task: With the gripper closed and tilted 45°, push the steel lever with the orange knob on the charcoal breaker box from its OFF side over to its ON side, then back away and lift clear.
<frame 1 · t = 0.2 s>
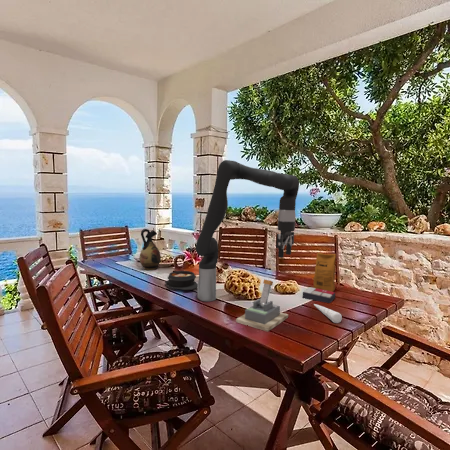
hand: (284, 255, 146), 29 cm above the table, tool pointing down, fingers open, 8 cm apart
casserole: (181, 287, 196), on the table
mounting board: (262, 319, 147), on the table
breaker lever: (265, 293, 147), point 12 cm above the table, hinge at -25.0°
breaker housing: (262, 309, 146), on the mounting board, point 5 cm above the table
unicorn horn: (325, 314, 155), on the table
ceramic jug: (149, 269, 241), on the table
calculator: (318, 298, 178), on the table
coffee package: (323, 290, 192), on the table
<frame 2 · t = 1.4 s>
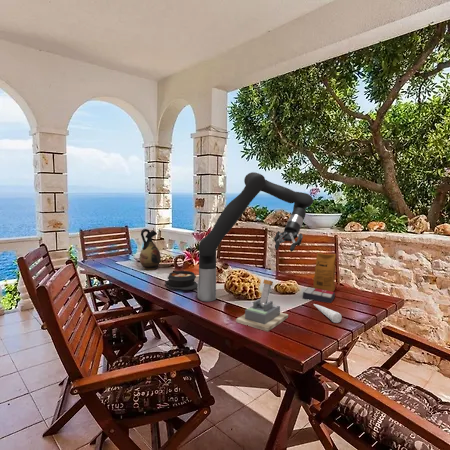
hand: (283, 249, 163), 29 cm above the table, tool tilted 45°, fingers open, 8 cm apart
nothing on the table moved.
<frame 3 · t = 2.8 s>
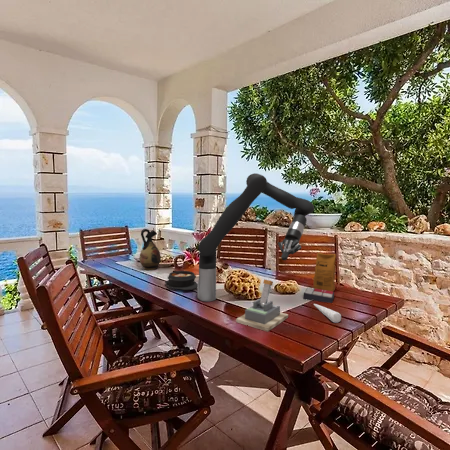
hand: (283, 259, 160), 25 cm above the table, tool tilted 45°, fingers closed
nothing on the table moved.
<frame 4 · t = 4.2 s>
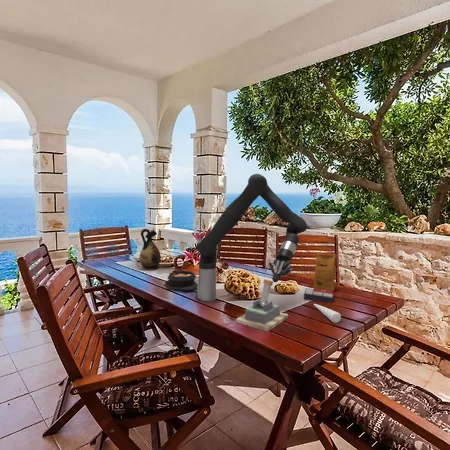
hand: (274, 281, 154), 15 cm above the table, tool tilted 45°, fingers closed
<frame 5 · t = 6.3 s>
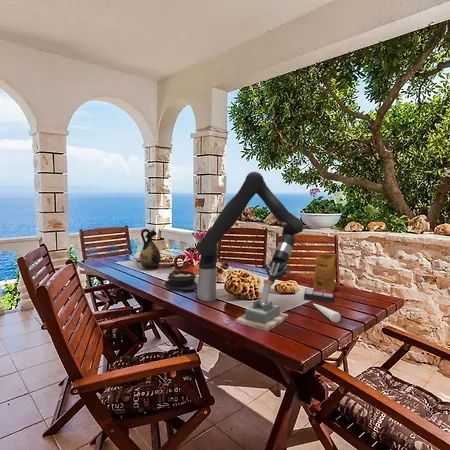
hand: (269, 283, 150), 15 cm above the table, tool tilted 45°, fingers closed
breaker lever: (265, 293, 147), point 12 cm above the table, hinge at -25.0°, touching gripper
everything else where it was.
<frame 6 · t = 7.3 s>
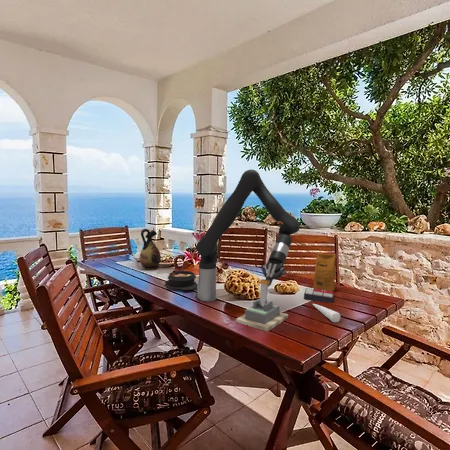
hand: (266, 285, 148), 15 cm above the table, tool tilted 45°, fingers closed
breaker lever: (263, 293, 146), point 12 cm above the table, hinge at -7.1°, touching gripper
everything else where it was.
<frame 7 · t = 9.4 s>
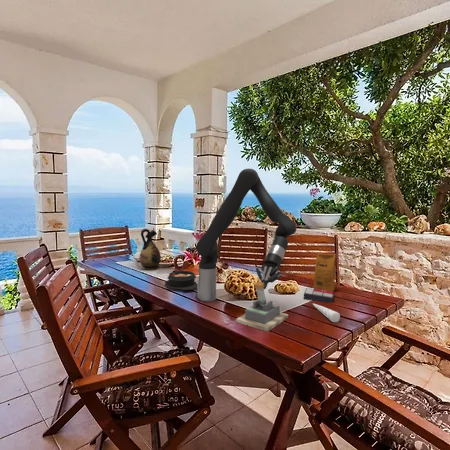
hand: (261, 288, 144), 15 cm above the table, tool tilted 45°, fingers closed
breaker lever: (261, 295, 144), point 12 cm above the table, hinge at 19.2°, touching gripper
everything else where it was.
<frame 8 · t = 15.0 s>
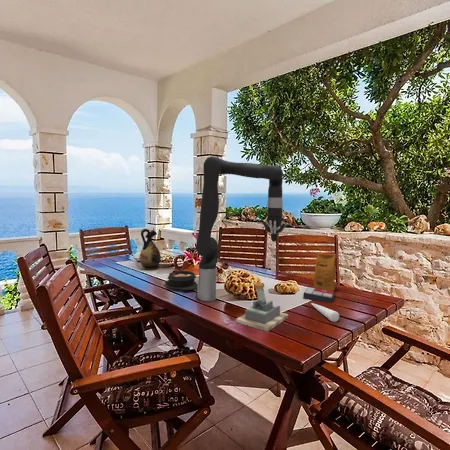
hand: (274, 241, 163), 33 cm above the table, tool pointing down, fingers closed
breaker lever: (261, 295, 144), point 12 cm above the table, hinge at 19.7°
at the end: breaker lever at +20° (first picture: -25°); unicorn horn moved 1.7 cm from its start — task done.
